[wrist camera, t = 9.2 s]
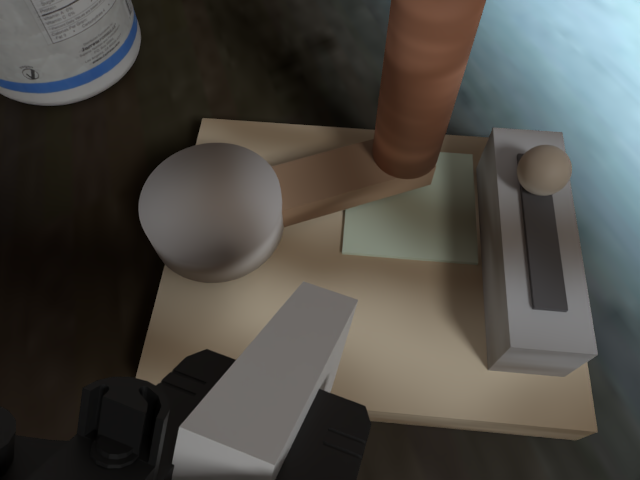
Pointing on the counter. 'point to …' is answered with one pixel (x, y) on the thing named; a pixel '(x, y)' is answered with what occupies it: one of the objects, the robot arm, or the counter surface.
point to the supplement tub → (65, 48)
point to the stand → (421, 287)
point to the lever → (314, 157)
